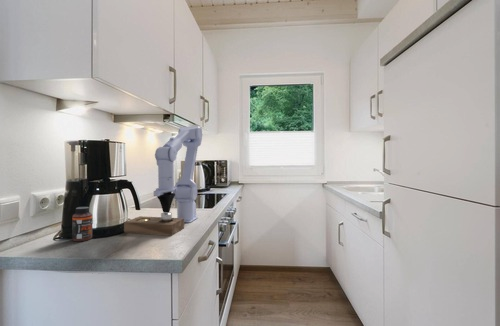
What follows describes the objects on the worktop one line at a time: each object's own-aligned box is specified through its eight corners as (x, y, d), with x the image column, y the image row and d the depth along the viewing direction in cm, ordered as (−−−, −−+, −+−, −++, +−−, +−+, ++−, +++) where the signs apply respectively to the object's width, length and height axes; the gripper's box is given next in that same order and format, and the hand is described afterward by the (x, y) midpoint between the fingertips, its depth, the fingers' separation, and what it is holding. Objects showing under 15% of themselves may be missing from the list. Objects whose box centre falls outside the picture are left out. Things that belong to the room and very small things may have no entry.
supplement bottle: (82, 242, 88) (82, 209, 88) (68, 241, 89) (67, 208, 89) (96, 237, 94) (96, 206, 94) (82, 236, 95) (82, 205, 95)
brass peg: (142, 227, 106) (142, 218, 106) (150, 227, 105) (150, 219, 105) (136, 229, 102) (135, 221, 102) (145, 230, 101) (145, 221, 101)
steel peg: (164, 220, 104) (164, 212, 104) (173, 221, 103) (173, 212, 103) (159, 223, 100) (159, 214, 100) (168, 223, 99) (168, 214, 99)
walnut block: (140, 225, 110) (139, 216, 109) (184, 228, 106) (183, 218, 106) (124, 232, 100) (124, 222, 100) (172, 235, 96) (172, 224, 96)
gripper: (166, 175, 109) (166, 208, 109) (145, 178, 95) (146, 215, 95) (181, 176, 108) (181, 208, 108) (163, 179, 93) (163, 216, 94)
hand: (166, 212), depth 101 cm, fingers closed
